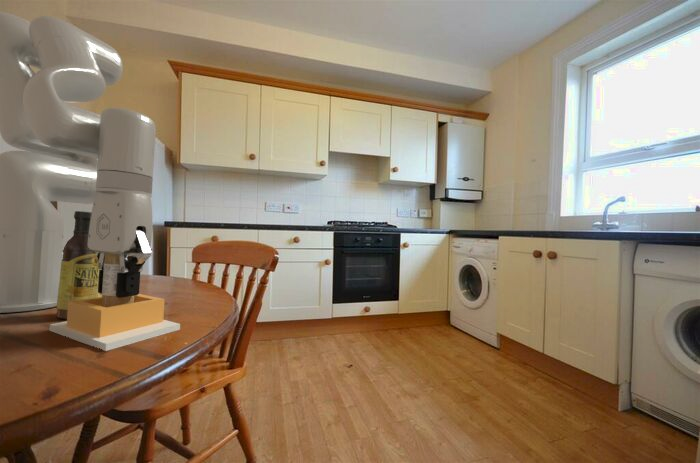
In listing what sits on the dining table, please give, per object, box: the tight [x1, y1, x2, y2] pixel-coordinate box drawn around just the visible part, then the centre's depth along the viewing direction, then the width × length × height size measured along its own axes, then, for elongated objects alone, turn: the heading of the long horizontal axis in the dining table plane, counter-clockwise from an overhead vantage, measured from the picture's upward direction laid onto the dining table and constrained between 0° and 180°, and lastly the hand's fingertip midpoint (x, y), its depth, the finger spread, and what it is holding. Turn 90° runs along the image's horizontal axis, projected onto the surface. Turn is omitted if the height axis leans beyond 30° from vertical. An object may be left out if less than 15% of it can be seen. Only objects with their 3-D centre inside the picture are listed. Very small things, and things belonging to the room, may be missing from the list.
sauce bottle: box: [56, 210, 102, 320], centre depth 56 cm, size 7×6×20 cm
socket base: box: [49, 293, 181, 352], centre depth 49 cm, size 16×11×5 cm
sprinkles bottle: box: [102, 249, 135, 308], centre depth 49 cm, size 5×5×14 cm
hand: (118, 293), depth 49 cm, fingers closed on sprinkles bottle, 4 cm apart
